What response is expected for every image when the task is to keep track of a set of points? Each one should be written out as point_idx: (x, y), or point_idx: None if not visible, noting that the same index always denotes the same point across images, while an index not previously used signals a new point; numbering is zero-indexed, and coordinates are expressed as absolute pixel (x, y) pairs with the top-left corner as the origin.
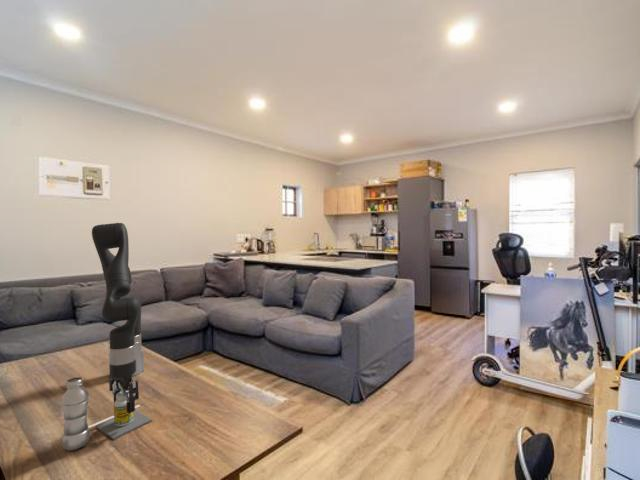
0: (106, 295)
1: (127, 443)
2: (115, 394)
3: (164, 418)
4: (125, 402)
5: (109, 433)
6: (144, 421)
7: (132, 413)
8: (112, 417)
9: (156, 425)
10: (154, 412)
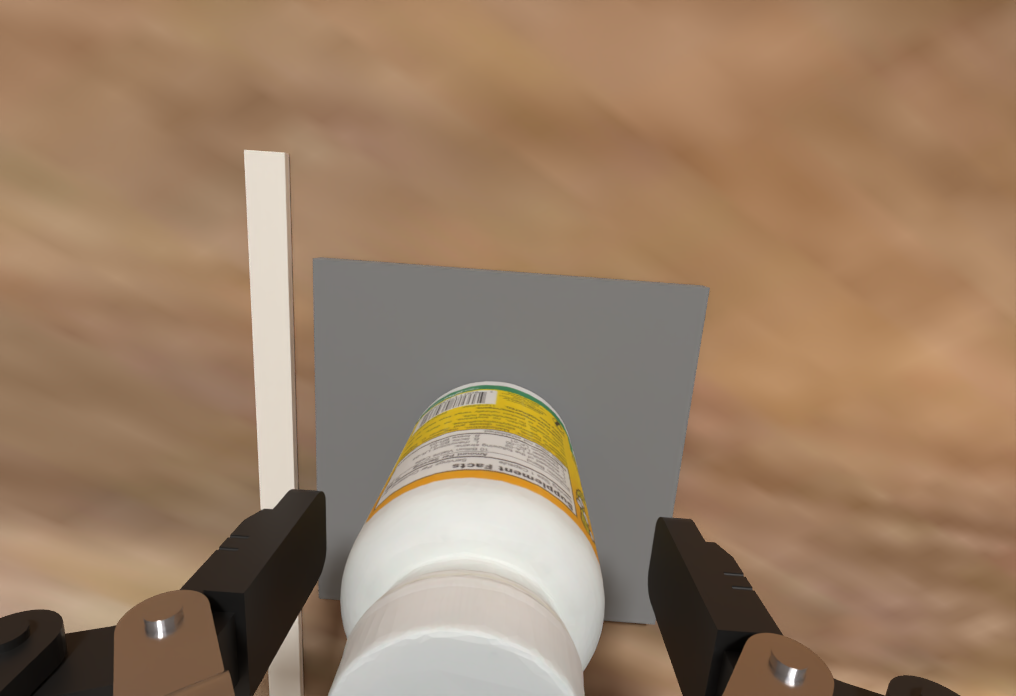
0: None
1: (801, 588)
2: (233, 686)
3: (781, 180)
4: (587, 656)
5: None
6: (670, 351)
7: (560, 441)
8: (288, 448)
9: (811, 310)
10: (562, 155)
